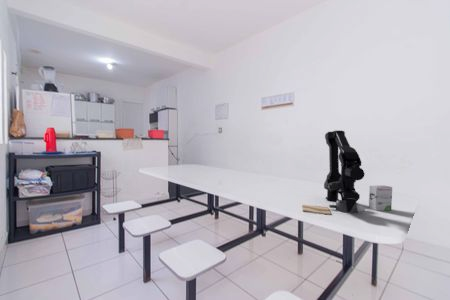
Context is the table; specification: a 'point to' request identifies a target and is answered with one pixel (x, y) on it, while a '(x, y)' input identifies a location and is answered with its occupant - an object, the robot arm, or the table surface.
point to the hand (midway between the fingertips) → (346, 208)
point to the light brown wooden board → (316, 209)
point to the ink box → (380, 198)
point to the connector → (342, 207)
